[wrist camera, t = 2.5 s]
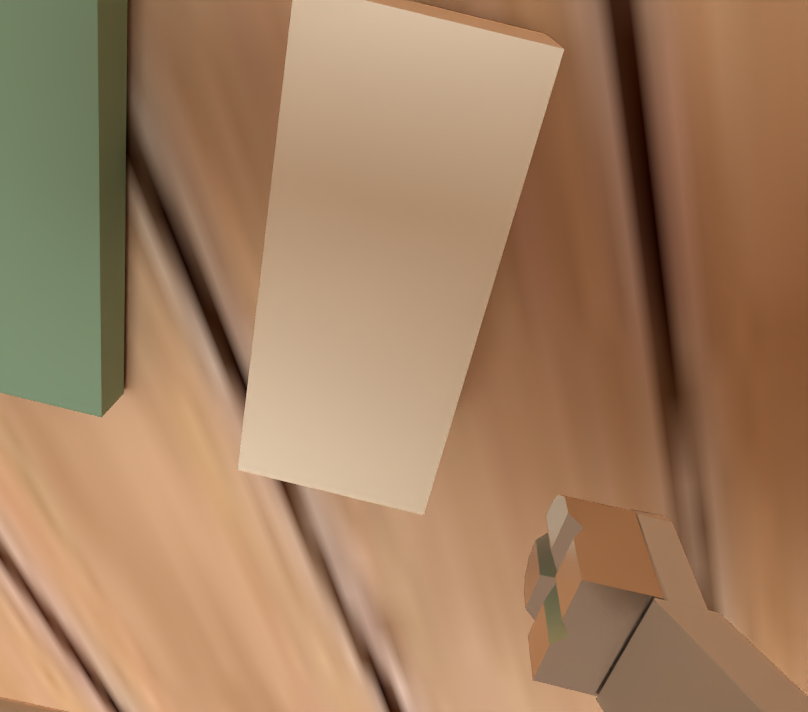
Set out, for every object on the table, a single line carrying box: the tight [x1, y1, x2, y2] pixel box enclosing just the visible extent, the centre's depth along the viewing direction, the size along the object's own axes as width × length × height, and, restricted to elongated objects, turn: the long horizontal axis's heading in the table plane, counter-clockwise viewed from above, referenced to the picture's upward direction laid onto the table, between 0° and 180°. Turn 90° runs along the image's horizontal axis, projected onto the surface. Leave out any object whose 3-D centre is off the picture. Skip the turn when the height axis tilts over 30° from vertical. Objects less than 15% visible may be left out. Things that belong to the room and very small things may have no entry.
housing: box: [238, 0, 564, 515], centre depth 17 cm, size 5×11×5 cm, turn 168°
